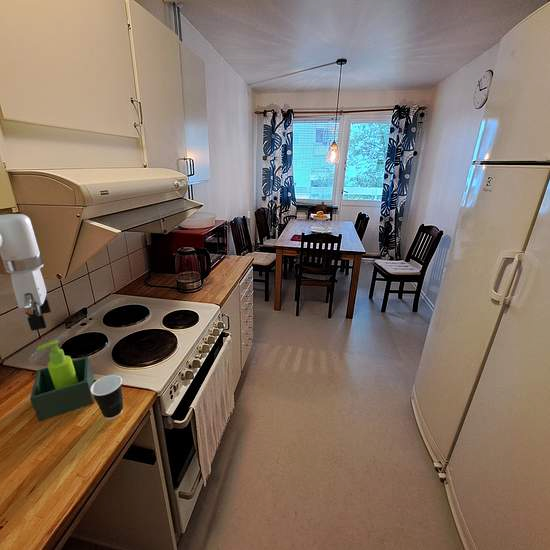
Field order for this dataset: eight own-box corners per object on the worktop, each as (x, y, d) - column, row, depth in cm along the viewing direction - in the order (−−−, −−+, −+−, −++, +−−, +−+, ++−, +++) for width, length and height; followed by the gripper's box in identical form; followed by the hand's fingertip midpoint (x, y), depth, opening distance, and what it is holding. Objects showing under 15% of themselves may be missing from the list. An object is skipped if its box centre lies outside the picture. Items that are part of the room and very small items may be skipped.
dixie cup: (105, 403, 89) (98, 375, 85) (132, 401, 89) (126, 373, 85) (93, 425, 81) (84, 395, 77) (122, 423, 82) (115, 394, 78)
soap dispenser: (52, 396, 90) (33, 344, 82) (78, 385, 95) (62, 334, 87) (57, 407, 86) (37, 353, 79) (83, 394, 91) (67, 342, 83)
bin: (38, 421, 82) (29, 398, 79) (45, 390, 93) (37, 369, 90) (93, 403, 89) (87, 381, 85) (93, 376, 99) (88, 356, 96)
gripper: (12, 255, 79) (30, 310, 85) (-5, 276, 65) (18, 339, 71) (46, 252, 82) (61, 305, 89) (36, 271, 69) (55, 332, 75)
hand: (41, 320), depth 80 cm, fingers open, 9 cm apart
